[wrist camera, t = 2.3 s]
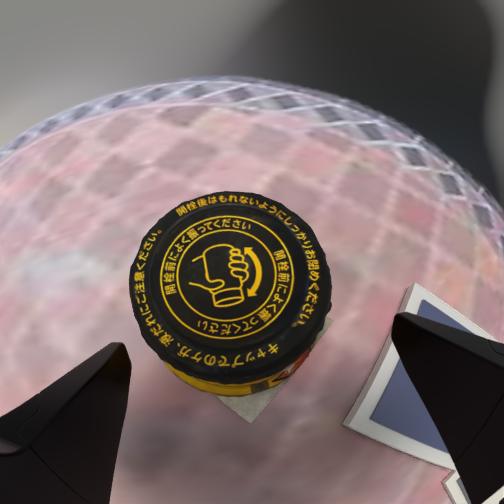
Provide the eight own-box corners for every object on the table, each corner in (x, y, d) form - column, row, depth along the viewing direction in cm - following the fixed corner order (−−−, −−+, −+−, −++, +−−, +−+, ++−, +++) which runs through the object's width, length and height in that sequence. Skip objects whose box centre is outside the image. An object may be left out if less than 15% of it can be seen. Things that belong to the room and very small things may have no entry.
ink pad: (448, 469, 13) (459, 471, 11) (342, 424, 15) (350, 426, 14) (493, 348, 17) (504, 343, 16) (407, 288, 19) (417, 281, 18)
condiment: (162, 348, 17) (55, 278, 6) (247, 257, 20) (253, 112, 10) (250, 423, 15) (265, 485, 5) (331, 321, 18) (433, 225, 8)
